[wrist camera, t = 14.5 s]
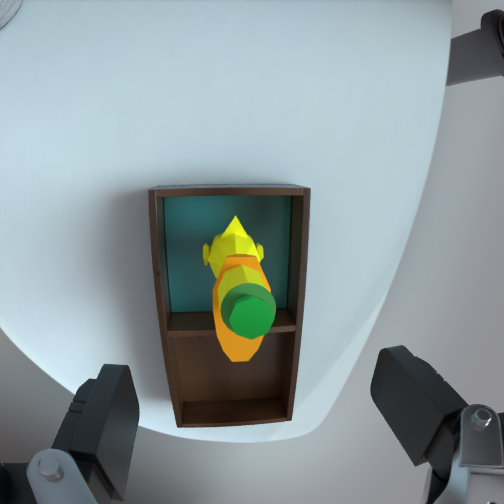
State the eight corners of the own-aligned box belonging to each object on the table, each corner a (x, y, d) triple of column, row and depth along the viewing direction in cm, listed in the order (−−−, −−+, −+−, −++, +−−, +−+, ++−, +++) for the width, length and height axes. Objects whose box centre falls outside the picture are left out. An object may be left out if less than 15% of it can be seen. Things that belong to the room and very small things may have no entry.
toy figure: (252, 295, 24) (289, 404, 12) (204, 296, 23) (204, 410, 12) (255, 206, 22) (306, 252, 10) (204, 205, 21) (196, 252, 10)
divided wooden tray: (296, 184, 22) (311, 188, 19) (283, 396, 28) (291, 420, 24) (157, 186, 21) (148, 189, 18) (179, 401, 26) (177, 427, 23)
